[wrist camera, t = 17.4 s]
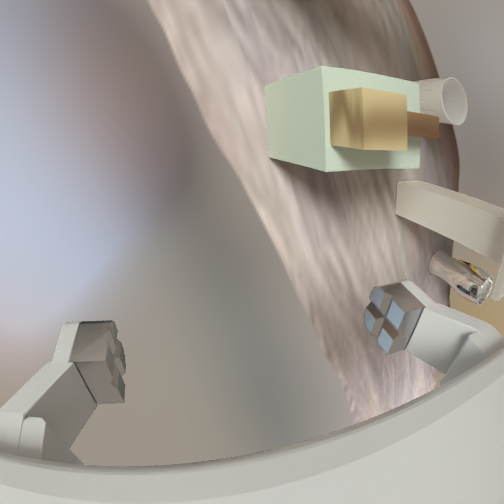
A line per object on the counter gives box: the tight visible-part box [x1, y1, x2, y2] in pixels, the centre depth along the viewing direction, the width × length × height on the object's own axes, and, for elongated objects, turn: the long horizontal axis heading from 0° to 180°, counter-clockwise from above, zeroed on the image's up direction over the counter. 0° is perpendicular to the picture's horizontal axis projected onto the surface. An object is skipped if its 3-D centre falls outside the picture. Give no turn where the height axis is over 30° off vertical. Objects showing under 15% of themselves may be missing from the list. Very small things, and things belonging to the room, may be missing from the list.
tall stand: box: [395, 180, 504, 301], centre depth 36 cm, size 12×12×30 cm
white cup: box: [413, 77, 468, 126], centre depth 39 cm, size 8×8×10 cm
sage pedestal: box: [264, 66, 420, 172], centre depth 33 cm, size 10×13×15 cm
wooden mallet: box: [328, 87, 439, 151], centre depth 24 cm, size 5×13×5 cm, turn 93°
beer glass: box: [429, 250, 494, 305], centre depth 53 cm, size 7×7×15 cm
